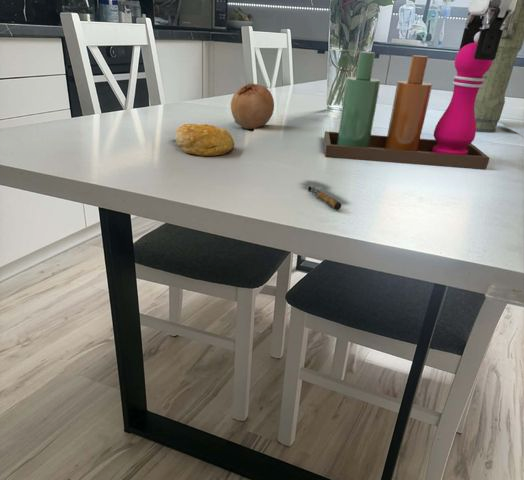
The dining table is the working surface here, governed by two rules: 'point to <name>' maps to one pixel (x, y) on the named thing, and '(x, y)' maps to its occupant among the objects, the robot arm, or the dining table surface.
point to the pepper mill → (461, 103)
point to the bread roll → (204, 139)
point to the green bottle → (359, 104)
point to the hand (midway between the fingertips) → (475, 57)
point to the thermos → (500, 72)
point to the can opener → (326, 198)
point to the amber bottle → (409, 108)
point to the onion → (252, 106)
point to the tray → (404, 153)
